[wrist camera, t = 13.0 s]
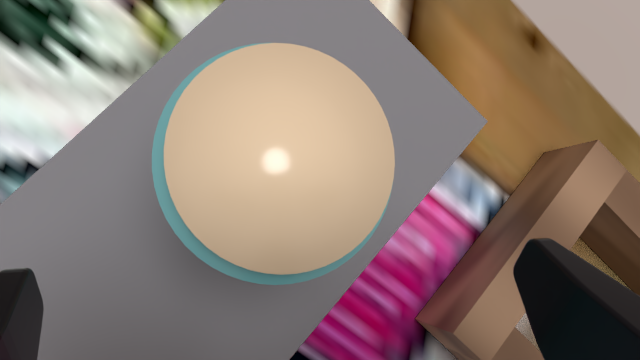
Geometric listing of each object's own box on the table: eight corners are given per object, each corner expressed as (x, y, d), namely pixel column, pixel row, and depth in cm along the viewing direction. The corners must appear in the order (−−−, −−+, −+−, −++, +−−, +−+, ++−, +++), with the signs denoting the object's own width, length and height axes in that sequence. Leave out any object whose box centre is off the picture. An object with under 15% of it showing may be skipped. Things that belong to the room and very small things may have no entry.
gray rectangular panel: (296, -57, 23) (301, -69, 22) (476, 125, 24) (487, 121, 24) (-66, 275, 19) (-80, 277, 18) (179, 480, 20) (177, 492, 19)
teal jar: (334, 219, 21) (448, 211, 12) (213, 286, 20) (228, 340, 10) (273, 100, 21) (336, -8, 11) (147, 159, 20) (97, 93, 10)
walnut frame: (572, 467, 24) (634, 506, 20) (414, 318, 23) (453, 333, 19) (681, 293, 26) (753, 302, 23) (544, 152, 25) (598, 139, 22)
